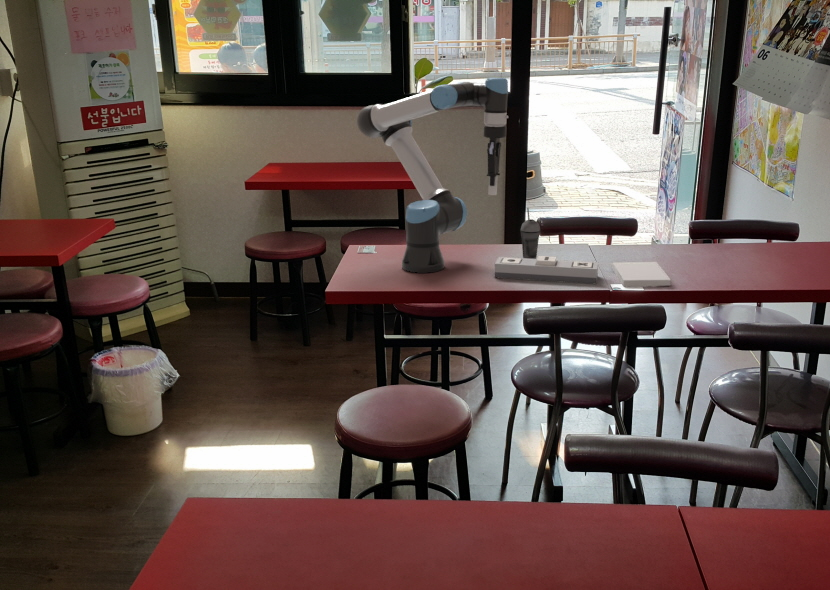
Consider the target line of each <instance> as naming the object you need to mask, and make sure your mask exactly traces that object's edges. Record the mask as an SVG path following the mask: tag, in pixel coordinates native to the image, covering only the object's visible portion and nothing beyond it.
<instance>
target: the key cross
mask: <svg viewBox="0 0 830 590" xmlns="http://www.w3.org/2000/svg"><path fill="white" fill-rule="evenodd" d="M591 262H592V261H585V262H574V264H573V267H581V268H592V263H591Z"/></svg>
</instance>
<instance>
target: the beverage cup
mask: <svg viewBox="0 0 830 590" xmlns="http://www.w3.org/2000/svg"><path fill="white" fill-rule="evenodd" d="M529 209H530V208H529V207H526V210H527V211H526V212H527V220H525V221H524V222H523V223H522V224H521V227H520V230H519V231H520V237H521V246H522V258H528V259H537V258H538V248H539V238H540V235H541V231H542V230H541V227H540V224H539V223H538V222H537V220H535V219H530V210H529Z"/></svg>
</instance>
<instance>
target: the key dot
mask: <svg viewBox="0 0 830 590" xmlns="http://www.w3.org/2000/svg"><path fill="white" fill-rule="evenodd" d="M515 258H516V257H509V258H504V259H503V260H502V262H501V263H507V264H520V263H521V259H515Z"/></svg>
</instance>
